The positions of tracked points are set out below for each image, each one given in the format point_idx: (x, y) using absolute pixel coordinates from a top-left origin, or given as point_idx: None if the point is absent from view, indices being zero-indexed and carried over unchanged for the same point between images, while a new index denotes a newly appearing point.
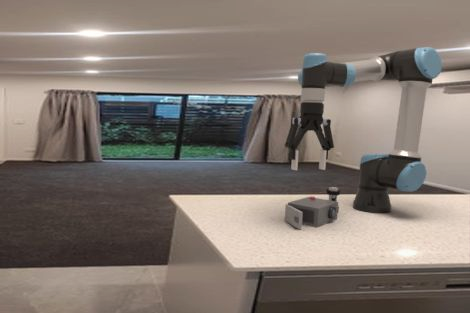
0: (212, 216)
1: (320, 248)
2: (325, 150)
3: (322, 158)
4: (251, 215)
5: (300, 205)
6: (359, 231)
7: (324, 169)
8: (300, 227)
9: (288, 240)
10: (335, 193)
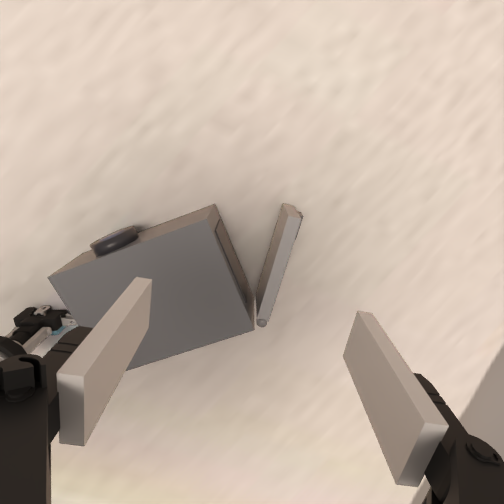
0: None
1: (372, 15)
2: (72, 374)
3: (120, 344)
4: (312, 376)
5: (235, 285)
6: (107, 107)
7: (142, 278)
8: (287, 205)
9: (398, 132)
10: (3, 341)
